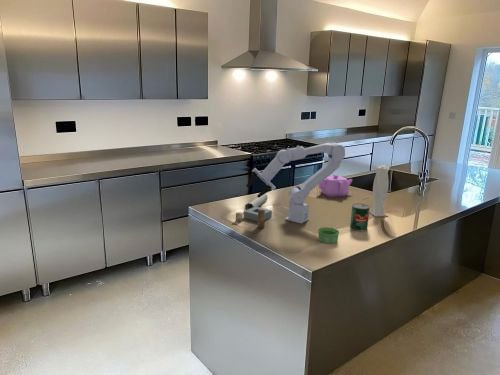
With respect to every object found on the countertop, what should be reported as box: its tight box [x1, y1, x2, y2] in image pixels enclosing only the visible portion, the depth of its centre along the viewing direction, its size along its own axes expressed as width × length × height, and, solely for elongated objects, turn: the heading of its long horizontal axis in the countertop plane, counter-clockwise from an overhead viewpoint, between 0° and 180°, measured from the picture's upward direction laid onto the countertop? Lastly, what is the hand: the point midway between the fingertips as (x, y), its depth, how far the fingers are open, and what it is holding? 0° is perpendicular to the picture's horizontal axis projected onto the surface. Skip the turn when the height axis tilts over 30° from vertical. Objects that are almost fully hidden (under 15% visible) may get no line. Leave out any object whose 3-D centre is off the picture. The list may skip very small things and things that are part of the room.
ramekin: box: [317, 226, 340, 245], centre depth 160 cm, size 9×9×4 cm
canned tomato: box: [349, 202, 371, 232], centre depth 174 cm, size 8×8×11 cm
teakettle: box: [318, 174, 353, 198], centre depth 231 cm, size 17×17×12 cm
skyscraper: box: [369, 163, 391, 218], centre depth 191 cm, size 8×8×28 cm
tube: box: [244, 193, 269, 211], centre depth 205 cm, size 5×5×25 cm
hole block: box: [243, 206, 273, 223], centre depth 186 cm, size 10×10×4 cm
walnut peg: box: [257, 210, 266, 229], centre depth 172 cm, size 3×3×8 cm
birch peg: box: [235, 211, 244, 223], centre depth 180 cm, size 3×3×4 cm
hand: (252, 191), depth 179 cm, fingers open, 7 cm apart
